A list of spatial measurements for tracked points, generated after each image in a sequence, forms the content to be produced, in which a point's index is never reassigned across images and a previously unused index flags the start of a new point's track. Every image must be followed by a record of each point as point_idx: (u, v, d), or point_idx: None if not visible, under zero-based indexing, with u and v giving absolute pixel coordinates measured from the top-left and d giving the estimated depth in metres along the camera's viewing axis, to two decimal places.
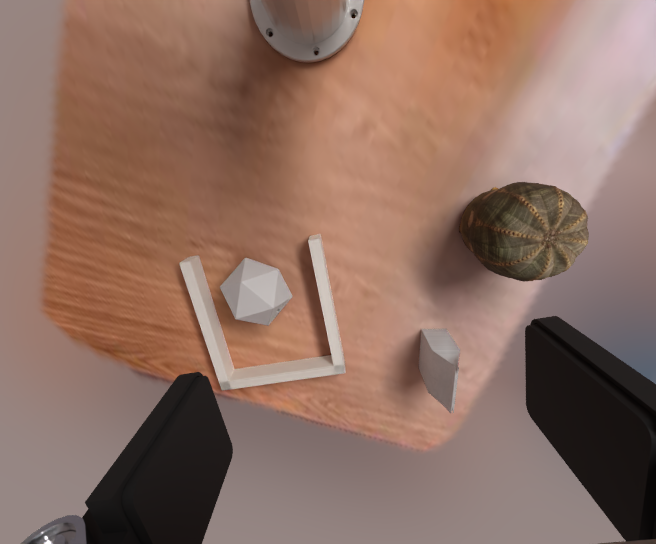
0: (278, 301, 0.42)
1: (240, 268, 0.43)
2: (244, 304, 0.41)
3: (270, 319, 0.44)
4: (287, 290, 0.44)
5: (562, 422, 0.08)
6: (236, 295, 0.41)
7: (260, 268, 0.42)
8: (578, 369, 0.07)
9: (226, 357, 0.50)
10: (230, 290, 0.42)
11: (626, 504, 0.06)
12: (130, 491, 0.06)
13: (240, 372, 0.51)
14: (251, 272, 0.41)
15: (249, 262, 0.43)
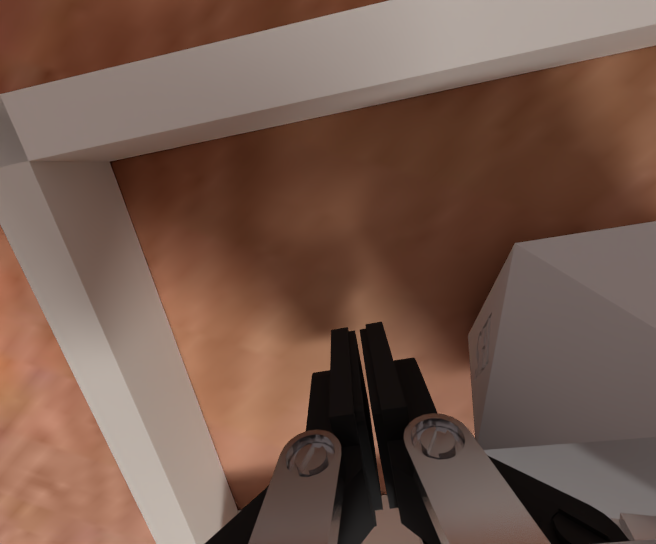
0: None
1: None
2: None
3: None
4: None
5: None
6: None
7: None
8: None
9: (178, 140, 0.09)
10: None
11: None
12: (359, 411, 0.07)
13: (100, 208, 0.10)
14: None
15: None
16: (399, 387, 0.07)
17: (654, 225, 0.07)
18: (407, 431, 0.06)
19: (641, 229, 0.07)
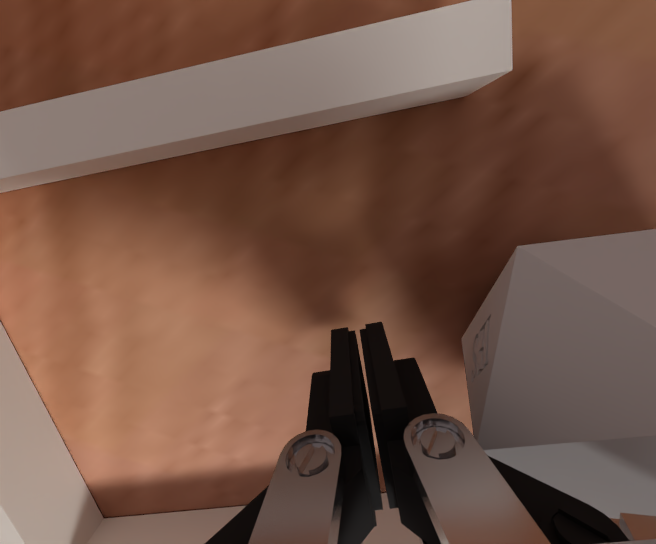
0: None
1: None
2: None
3: None
4: None
5: None
6: None
7: None
8: None
9: None
10: None
11: None
12: (359, 411, 0.07)
13: None
14: None
15: None
16: (399, 387, 0.07)
17: (651, 233, 0.07)
18: (407, 431, 0.06)
19: (639, 236, 0.07)
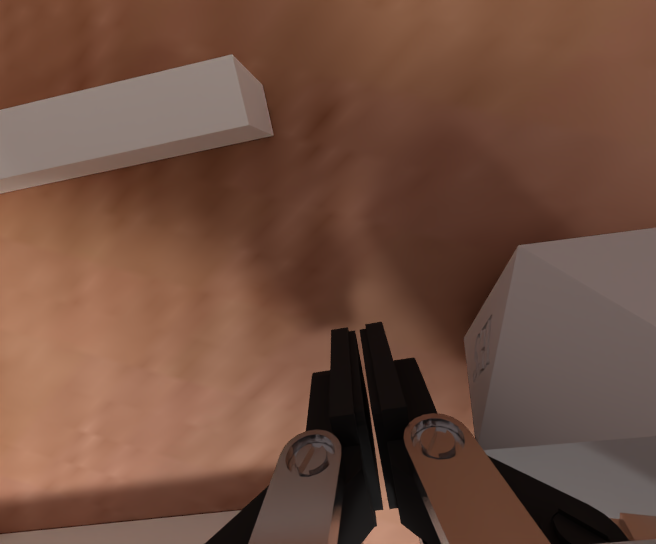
0: None
1: None
2: None
3: None
4: None
5: None
6: None
7: None
8: None
9: None
10: None
11: None
12: (359, 411, 0.07)
13: None
14: None
15: None
16: (399, 387, 0.07)
17: (655, 231, 0.07)
18: (407, 431, 0.06)
19: (642, 234, 0.07)
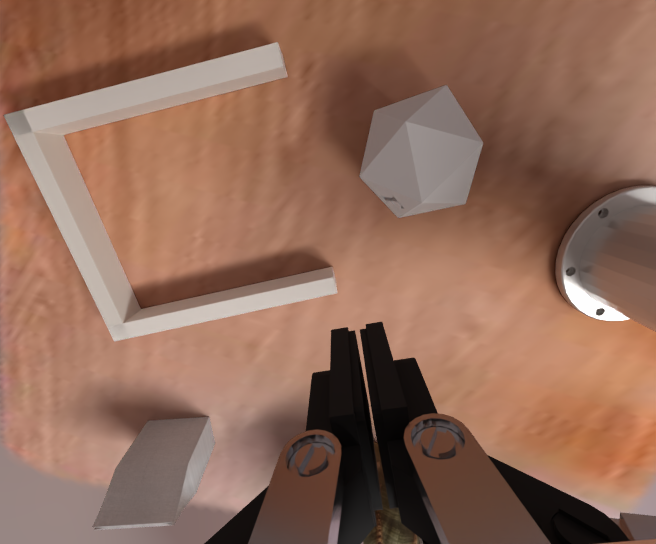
0: (420, 206, 0.23)
1: None
2: (435, 144, 0.21)
3: (379, 185, 0.23)
4: (417, 213, 0.26)
5: None
6: (452, 127, 0.21)
7: None
8: None
9: (87, 124, 0.26)
10: (454, 113, 0.21)
11: None
12: (359, 411, 0.07)
13: (60, 152, 0.27)
14: None
15: None
16: (399, 387, 0.07)
17: (409, 98, 0.23)
18: (407, 431, 0.06)
19: (406, 99, 0.23)
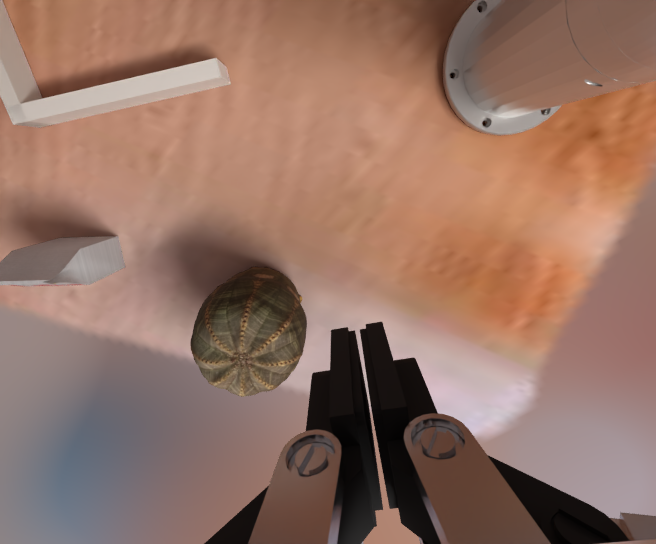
0: None
1: None
2: None
3: None
4: None
5: None
6: None
7: None
8: None
9: None
10: None
11: None
12: (359, 411, 0.07)
13: None
14: None
15: None
16: (399, 387, 0.07)
17: None
18: (407, 431, 0.06)
19: None
